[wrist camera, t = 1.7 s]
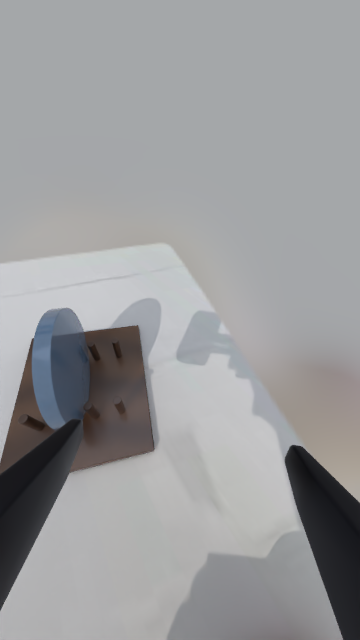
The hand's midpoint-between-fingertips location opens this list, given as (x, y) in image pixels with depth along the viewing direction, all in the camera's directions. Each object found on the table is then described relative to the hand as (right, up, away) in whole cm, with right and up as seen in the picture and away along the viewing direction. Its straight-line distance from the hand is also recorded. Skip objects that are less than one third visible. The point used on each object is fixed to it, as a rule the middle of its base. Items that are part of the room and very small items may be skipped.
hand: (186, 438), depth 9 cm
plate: (-11, -3, +15) cm, 19 cm away
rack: (-12, -3, +16) cm, 20 cm away
